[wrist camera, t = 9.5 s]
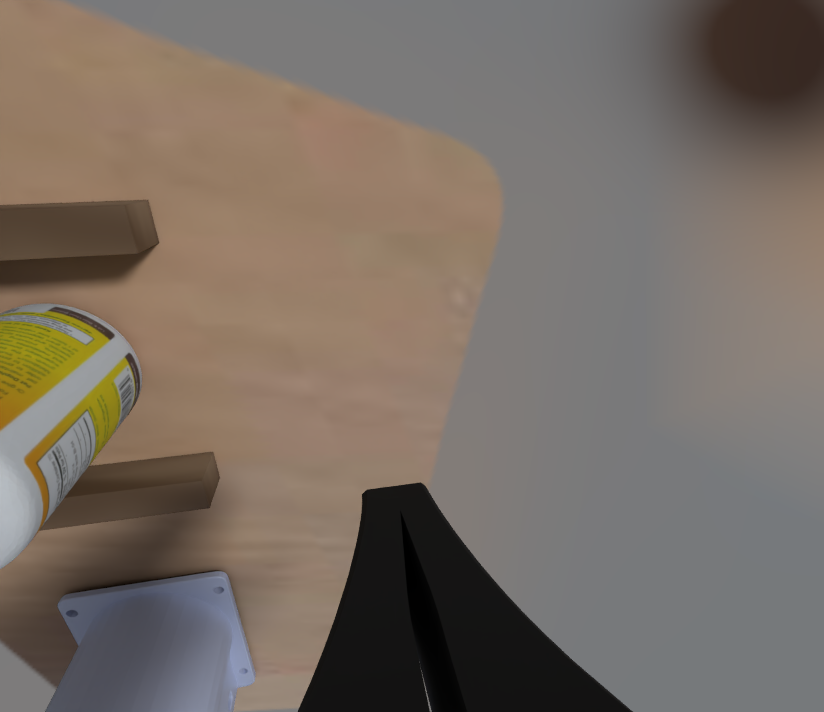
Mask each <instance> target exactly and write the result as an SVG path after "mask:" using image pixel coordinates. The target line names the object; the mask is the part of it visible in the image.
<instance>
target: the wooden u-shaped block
mask: <svg viewBox="0 0 824 712" xmlns="http://www.w3.org/2000/svg"><path fill="white" fill-rule="evenodd" d="M158 243H159V240H158V236H157V233H156V229H155V225H154V221H153V217H152V213H151V209H150V206H149V202H148V200H134V201H106V202H77V203H49V204H20V205H0V261H3V260H22V259H42V258H61V257H81V256H100V255H120V254H138V253H140V252H142V251H144V250H146V249H148V248H150V247H152V246H154V245H156V244H158ZM219 479H220V476H219V472H218V469H217V465H216V461H215V457H214V453H213V452H209V453H200V454H191V455H183V456H174V457H165V458H157V459H148V460H139V461H131V462H122V463H113V464H105V465H96V466H88V467H87V469H86V470H85V472H84V473H83V474H82V475H81V477H80V478H79V479H78V480H77V482H76V483H75V484H74V486H73V487H72V488H71V490H70V491H69V492H68V494H67V495H66V496H65V497H64V499H63V500H62V501H61V503H60V504H59V505H58V507H57V508H56V509H55V511H54V512H53V513H52V514H51V516H50V517H49V518H48V520H47V521H46V522H45V523H44V525H43V526H42V528H41V529H40V530H48V529H55V528H63V527H70V526H78V525H85V524H93V523H100V522H108V521H115V520H123V519H130V518H138V517H146V516H153V515H161V514H168V513H176V512H183V511H191V510H198V509H206V508H210V505H211V502H212V499H213V496H214V493H215V490H216V488H217V485H218V482H219ZM40 530H39V531H40Z"/></svg>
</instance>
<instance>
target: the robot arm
mask: <svg viewBox="0 0 824 712" xmlns="http://www.w3.org/2000/svg"><path fill="white" fill-rule="evenodd" d="M57 606H58V609H59V611H60V613H61V614H62V616H63V618H64V620H65V622H66V624H67V626H68V627H69V629H70V631H71V633H72V635H73V637H74V639H75V640H76V642H77V644H78V648H77V650H76V652H75V654H74V656H73V658H72V660H71V662H70V664H69V666H68V668H67V670H66V672H65V674H64V676H63V678H62V680H61V682H60V684H59V686H58V687H57V689H56V691H55V693H54V695H53V697H52V699H51V701H50V703H49V705H48V707H47V709H46V711H45V712H233V710H234V704H235V698H236V692H237V688H238V687H244V686H248V685H251V684H252V683H254V681H255V675H256V673H255V670H254V666H253V663H252V659H251V656H250V652H249V649H248V645H247V641H246V638H245V634H244V631H243V627H242V624H241V620H240V617H239V613H238V610H237V606H236V602H235V599H234V595H233V592H232V588H231V585H230V581H229V578H228V575H227V574H226V573H225V572H222V571H214V572H207V573H201V574H194V575H188V576H181V577H175V578H168V579H162V580H155V581H148V582H142V583H135V584H129V585H122V586H116V587H109V588H103V589H96V590H90V591H83V592H77V593H70V594H66V595H64V596H63V597H62V598H61V599H60V601H59V603H58V605H57ZM420 666H421V667H420ZM421 670H422V672H421ZM422 674H423V678H424V682H425V686H426V690H427V694H428V698H429V702H430V706H431V710H432V712H633V711H631V710H630V709H629V708H628V707H627V706H625V705H624V704H623V703H622V702H621V701H620V700H618V699H617V698H616V697H615V696H614V695H612V694H611V693H610V692H609V691H608V690H607V689H605V688H604V687H603V686H602V685H601V684H600V683H598V682H597V681H596V680H595V679H594V678H593V677H591V676H590V675H589V674H588V673H587V672H585V671H584V670H583V669H582V668H581V667H580V666H579V665H577V664H576V663H575V662H574V661H573V660H572V659H570V657H569V656H568V655H566V654H565V653H564V652H563V651H562V650H561V649H560V648H559V647H558V646H557V645H556V644H555V643H554V642H553V641H552V640H551V639H549V638H548V637H547V636H546V635H545V634H544V633H543V632H542V631H541V630H540V629H539V628H538V627H537V626H536V625H535V624H534V623H533V622H532V621H531V620H530V619H529V618H528V617H527V616H526V615H525V614H524V613H523V612H522V611H521V609H519V607H518V606H517V605H516V604H515V603H514V602H513V601H512V600H511V599H510V598H509V597H508V596H507V595H506V594H505V592H504V591H503V590H502V589H501V588H500V587H499V586H498V584H497V583H496V582H495V581H494V580H493V579H492V577H491V576H490V575H489V574H488V573H487V572H486V570H485V569H484V568H483V567H482V566H481V564H480V563H479V562H478V561H477V560H476V558H475V557H474V556H473V554H472V553H471V552H470V550H469V549H468V548H467V547H466V545H465V544H464V543H463V542H462V540H461V539H460V538H459V536H458V535H457V534H456V532H455V531H454V530H453V528H452V527H451V525H450V524H449V522H448V521H447V520H446V518H445V517H444V515H443V514H442V513H441V511H440V509H439V508H438V506H437V505H436V503H435V501H434V500H433V498H432V496H431V495H430V493H429V491H428V490H427V488H426V486H425V485H423V484H422V483H414V484H406V485H399V486H391V487H384V488H377V489H369V490H366V491H365V492H364V493H363V494H362V514H361V521H360V527H359V533H358V538H357V543H356V547H355V551H354V555H353V559H352V563H351V567H350V571H349V575H348V578H347V582H346V585H345V588H344V591H343V595H342V598H341V601H340V604H339V607H338V610H337V613H336V617H335V620H334V622H333V625H332V628H331V631H330V634H329V636H328V639H327V642H326V644H325V647H324V650H323V652H322V655H321V657H320V660H319V662H318V665H317V668H316V670H315V673H314V675H313V677H312V680H311V682H310V685H309V687H308V689H307V691H306V694H305V696H304V698H303V701H302V703H301V705H300V708H299V710H298V712H430V711H429V706H428V701H427V696H426V691H425V687H424V682H423V678H422Z"/></svg>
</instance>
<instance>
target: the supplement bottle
mask: <svg viewBox="0 0 824 712" xmlns="http://www.w3.org/2000/svg"><path fill="white" fill-rule="evenodd" d="M141 386H142V373H141V367H140V364H139V361H138V358H137V356H136V354H135V352H134V350H133V348H132V347H131V345H130V344H129V343H128V341H127V340H126V339H125V338H124V337H123V336H122V335H121V334H120V333H119V332H118V331H117V330H116V329H115V328H113V327H112V326H111V325H110V324H108V323H107V322H105V321H104V320H102V319H100V318H98V317H96V316H95V315H92V314H90V313H88V312H86V311H83V310H80V309H77V308H74V307H70V306H65V305H59V304H30V305H25V306H21V307H17V308H13V309H11V310H8V311H6V312H4V313H1V314H0V569H1V568H3V567H4V566H6V565H7V564H8V563H10V562H11V561H13V560H14V559H15V558H16V557H17V556H18V555H19V554H20V553H21V552H22V551H23V550H24V548H25V547H26V546H27V545H28V544H29V543H30V542H31V540H32V539H33V538H34V537H35V535H36V534H37V533H38V531H39V530H40V529H41V528H42V526H43V525H44V523H45V522H46V521H47V520H48V518H49V517H50V516H51V514H52V513H53V512H54V511H55V509H56V508H57V507H58V505H59V504H60V503H61V501H62V500H63V499H64V497H65V496H66V495H67V494H68V492H69V491H70V490H71V488H72V487H73V486H74V484H75V483H76V482H77V480H78V479H79V478H80V477H81V475H82V474H83V473H84V472H85V470H86V469H87V467H88V466H89V465H90V464H91V462H92V461H93V460H94V459H95V457H96V456H97V454H98V453H99V452H100V450H101V449H102V448H103V446H104V445H105V444H106V443H107V441H108V440H109V439H110V437H111V436H112V435H113V433H114V432H115V431H116V429H117V428H118V427H119V425H120V424H121V423H122V421H123V420H124V419H125V418H126V416H127V415H129V413H130V411H131V410H132V408H133V407H134V405H135V403H136V401H137V399H138V397H139V394H140V391H141Z"/></svg>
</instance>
